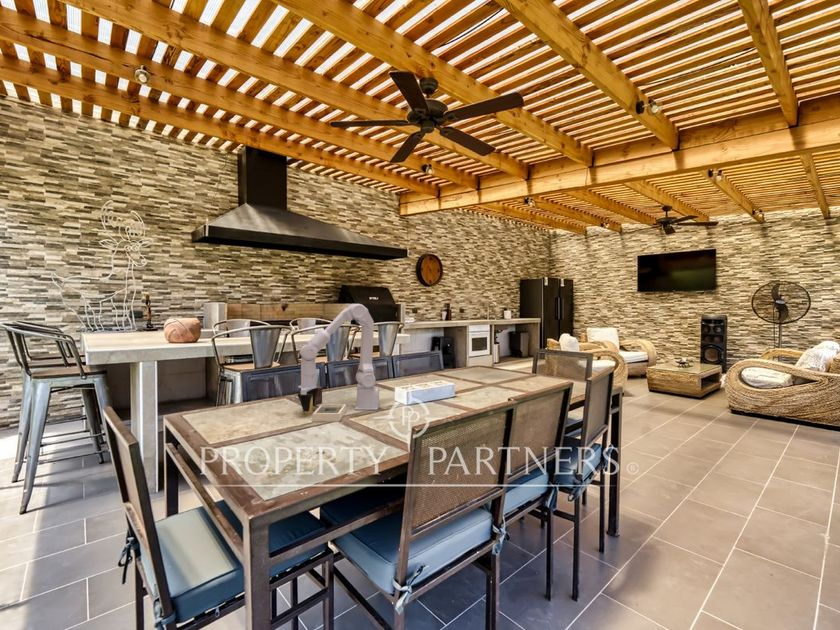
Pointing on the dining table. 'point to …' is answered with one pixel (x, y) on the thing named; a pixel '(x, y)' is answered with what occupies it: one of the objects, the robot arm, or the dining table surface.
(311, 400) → the peg
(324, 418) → the tray
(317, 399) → the box
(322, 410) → the socket plate
